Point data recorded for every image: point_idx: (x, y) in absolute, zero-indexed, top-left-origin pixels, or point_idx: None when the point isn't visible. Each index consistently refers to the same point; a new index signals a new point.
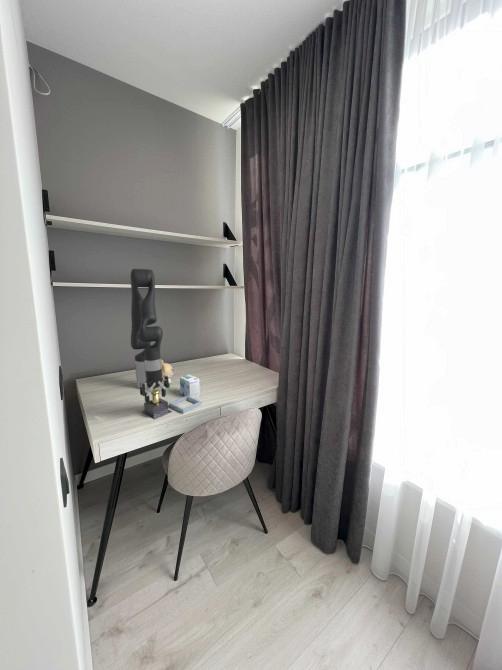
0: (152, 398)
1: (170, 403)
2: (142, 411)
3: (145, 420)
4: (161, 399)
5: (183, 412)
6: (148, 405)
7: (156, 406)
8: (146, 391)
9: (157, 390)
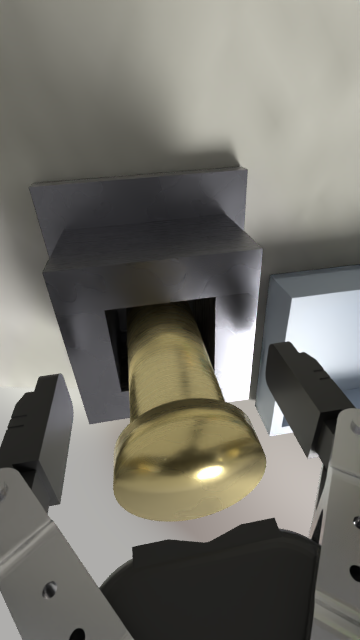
0: (129, 394)
1: (291, 314)
2: (47, 195)
3: (37, 324)
4: (246, 323)
5: (263, 420)
6: (69, 359)
7: (126, 417)
8: (19, 536)
9: (227, 483)
